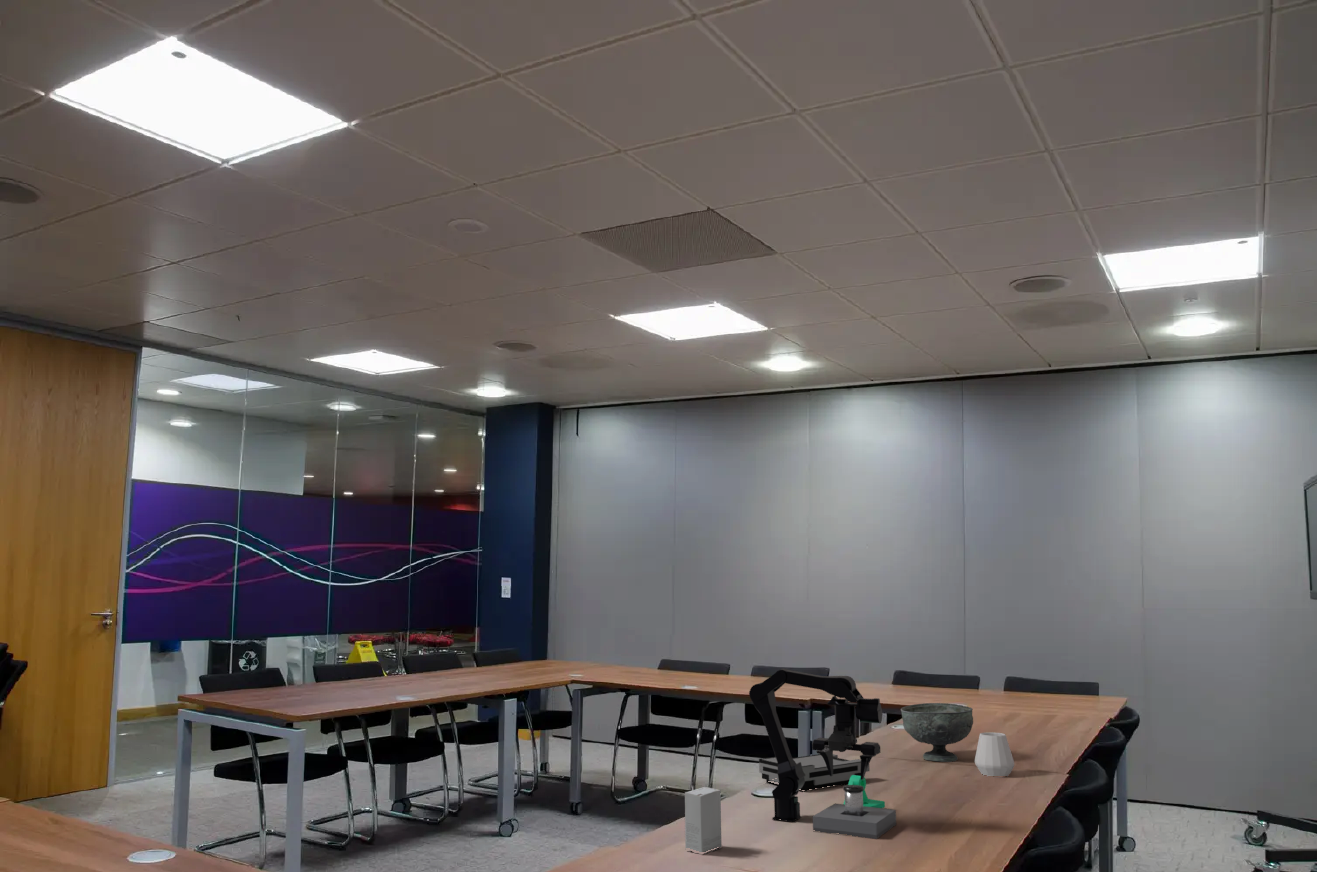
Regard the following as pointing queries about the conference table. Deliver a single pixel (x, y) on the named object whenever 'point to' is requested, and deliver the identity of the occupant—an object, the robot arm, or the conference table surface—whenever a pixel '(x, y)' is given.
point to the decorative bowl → (938, 726)
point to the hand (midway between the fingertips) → (846, 777)
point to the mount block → (855, 821)
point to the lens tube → (853, 800)
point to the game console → (815, 770)
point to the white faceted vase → (994, 755)
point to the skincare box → (703, 819)
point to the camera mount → (866, 802)
